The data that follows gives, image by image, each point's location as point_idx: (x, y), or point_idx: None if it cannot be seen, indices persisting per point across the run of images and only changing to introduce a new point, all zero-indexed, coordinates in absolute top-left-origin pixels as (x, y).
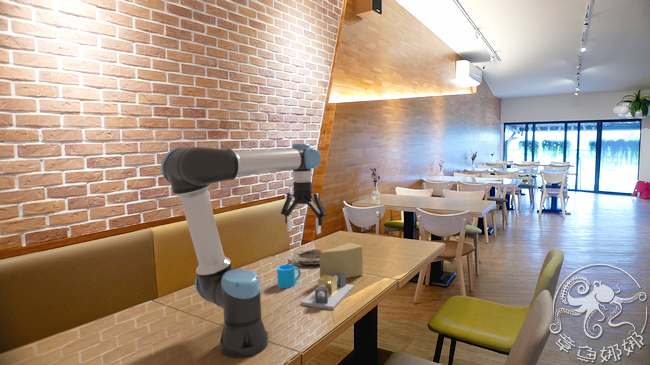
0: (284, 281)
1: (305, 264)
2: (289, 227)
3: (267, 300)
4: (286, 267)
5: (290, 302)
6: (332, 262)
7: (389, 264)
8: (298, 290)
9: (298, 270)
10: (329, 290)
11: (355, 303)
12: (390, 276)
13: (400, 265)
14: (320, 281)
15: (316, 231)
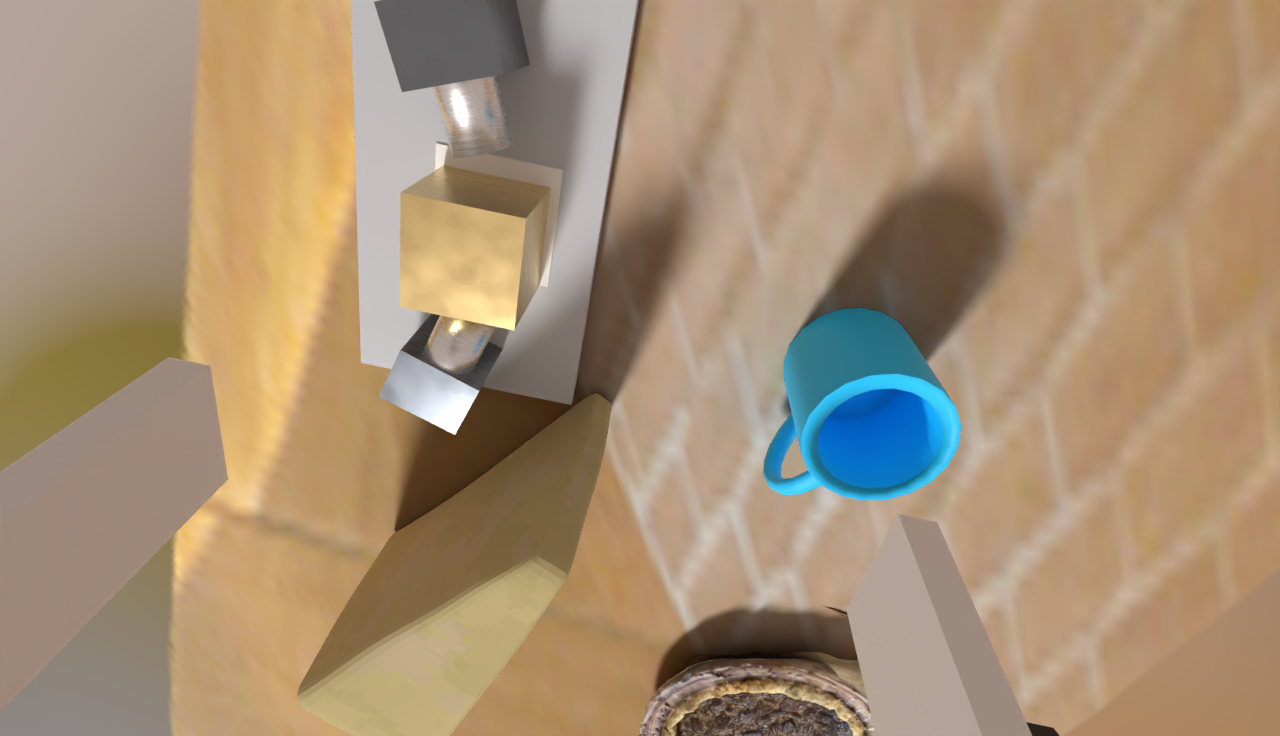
0: (860, 329)
1: (785, 658)
2: (910, 610)
3: (945, 41)
4: (879, 474)
5: (740, 30)
6: (497, 517)
7: None
8: (734, 271)
9: (779, 477)
10: (448, 176)
11: (257, 89)
12: (234, 528)
13: (248, 663)
14: (507, 208)
15: (165, 396)
